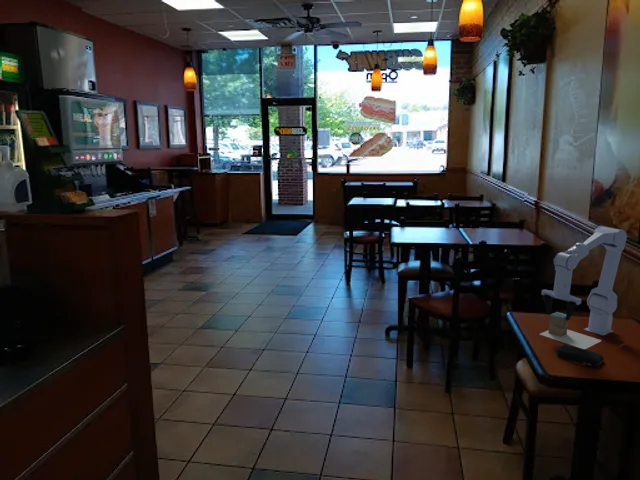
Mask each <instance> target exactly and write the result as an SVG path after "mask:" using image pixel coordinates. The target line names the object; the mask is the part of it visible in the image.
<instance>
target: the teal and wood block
mask: <svg viewBox="0 0 640 480" xmlns="http://www.w3.org/2000/svg"><path fill="white" fill-rule="evenodd" d="M566 314H567V313H566ZM566 314H565V313H563V312H559V311H556V312H553V313H551V314H550V319H549V325H548V330H549V332H548V333H550V334H553V335H556V336H559V337H561V336H564V335H566V334H567V329H568V326H569V320H568V321H567V320H566Z"/></svg>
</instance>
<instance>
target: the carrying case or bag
mask: <svg viewBox="0 0 640 480" xmlns="http://www.w3.org/2000/svg"><path fill="white" fill-rule="evenodd" d="M555 354H556V355H557V357H558V358H562V359H565V360H569V361H571V362H574V363H578V364H582V365H584V366H589V367H592V368H597V367H599V366H600V365H601V364H602V363H603V362H604V360H605V357H604V356H603V354H601V353H598V352H595V351H592V350H589V349H582V348H578V347H575V346H572V345H569V344H567V343H564V344H563V345H560V347H558V349H556V350H555Z"/></svg>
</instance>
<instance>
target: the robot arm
mask: <svg viewBox="0 0 640 480" xmlns="http://www.w3.org/2000/svg"><path fill="white" fill-rule="evenodd" d="M627 238H628V235H627V232H626V231H625V230H624V229H622V228H621V229H620V228H619V229H618V228H613V227H609V226H604V225H599V226H598V227H597V228H594V231H593V234H592V235H591V236H590V237H588V238H587V239H586V240H585V241H584V242H576V243H575V244H574V245H573V246H571V247H570V248H568V249H567V250H566V251H561V252H558V253H556V254H555V256H554V258H553V264H554V271H555V276H554V285H553V290H549V289H542V290H541V296H542V301H543V303H544V306H545V310H546V313H545V314H546V315H548V316H549V315H551V314H552V309H553V308H552V307H553V302H554V300H555V299H559V300H562V301H566V302H567V303H566V320H567V321H568V322H569V321H570V320H571V317H572V315H573V313H574V311H575V310H576V308H577V307H578V306H579V305H581V304H582V298H579V297H576V296H574V295H572V294H570V293H571V286H572V279H573V278H572V277H573V271H574V270H575V269H576V267H577V266H578V264H579V263H580V261H581V260H583V259H585V257H587V256H588V255H589V252H590V250H592V249H594V248H596V247H598V246H600V245H601V246H603V247H604V249H605V255H604V260H603V264H602V268H601V272H600V276H599V280H598V285H597V287H594V288H592V289H591V290H590V293H589V295H588V297H587V299H586V303H587V306H588V307H589V308H588V309H589V310H590V312H589V320H588V327H586V328H583V330H585V331H588V332H591V333H594V334H597V335H600V336H605V335H608V334H610V333H613V332H614V330H612V324H613V317H614V316H613V313H614V312H615V311H616V310H617V308H618V295H617V294H616V292H614V291H613V288H614V285H615V284H614V283H615V280H616V275H617V272H618V267H619V264H620V259H621V255H622V253H623V251H624V249H625V248H626V247H625V246H626V242H627Z"/></svg>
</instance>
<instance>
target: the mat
mask: <svg viewBox="0 0 640 480" xmlns="http://www.w3.org/2000/svg"><path fill="white" fill-rule="evenodd" d="M548 332H549V329H548V330H545V331H544V332H541V333H539V335H540V336H543V337H546V338H549V339H552V340H555V341H557V342H561V343H564V344H567V345H571V346H575V347H578V348H582V349H585V350H588V348H590V347H592V346H595V345H596V344H598V343H600V342H602V339H598V338H595V337H593V336H589V335H587V334H584V333H583V334H582V333H580V332H576V331H573V330H570V329H568V328H567V334H566V335H564V336H561V337H559V336H556V335H553V334H550V333H548Z"/></svg>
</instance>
